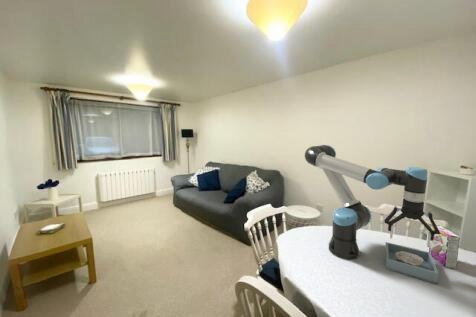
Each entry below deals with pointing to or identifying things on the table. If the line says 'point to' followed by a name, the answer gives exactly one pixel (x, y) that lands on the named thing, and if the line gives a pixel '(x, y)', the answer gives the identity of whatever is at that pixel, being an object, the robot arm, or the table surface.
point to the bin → (421, 272)
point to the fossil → (409, 258)
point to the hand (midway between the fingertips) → (408, 241)
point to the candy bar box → (445, 247)
